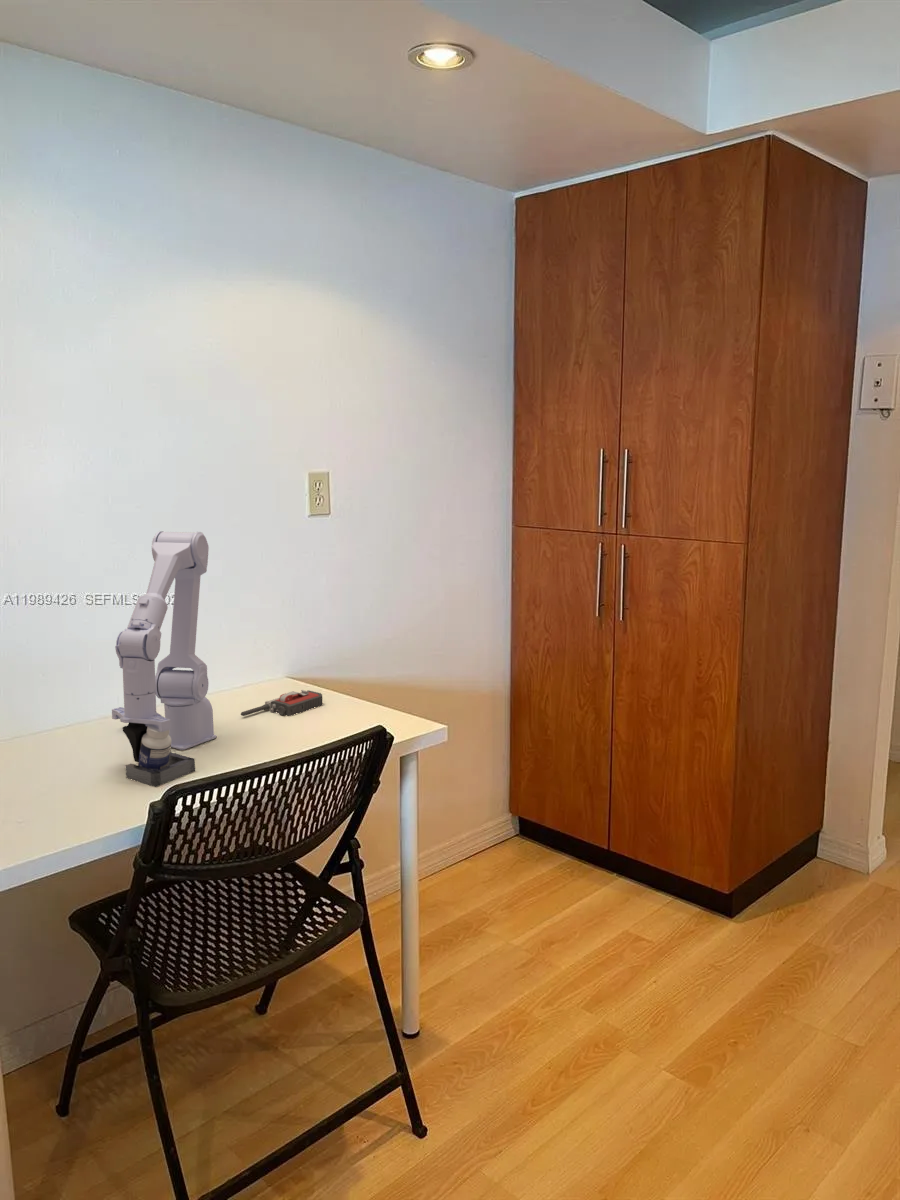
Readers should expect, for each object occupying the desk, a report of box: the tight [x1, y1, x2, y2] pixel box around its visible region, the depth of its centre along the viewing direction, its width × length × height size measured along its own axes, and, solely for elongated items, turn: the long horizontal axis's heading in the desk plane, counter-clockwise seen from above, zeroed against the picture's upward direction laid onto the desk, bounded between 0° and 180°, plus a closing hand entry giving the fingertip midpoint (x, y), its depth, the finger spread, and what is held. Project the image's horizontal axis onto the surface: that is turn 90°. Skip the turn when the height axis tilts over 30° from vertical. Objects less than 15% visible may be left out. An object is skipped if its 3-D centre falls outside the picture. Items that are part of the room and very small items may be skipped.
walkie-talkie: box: [240, 689, 323, 717], centre depth 210 cm, size 9×4×20 cm
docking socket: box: [125, 751, 196, 788], centre depth 170 cm, size 9×8×2 cm
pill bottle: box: [137, 724, 172, 771], centre depth 170 cm, size 5×5×10 cm
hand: (142, 761), depth 172 cm, fingers closed, pressing on pill bottle
